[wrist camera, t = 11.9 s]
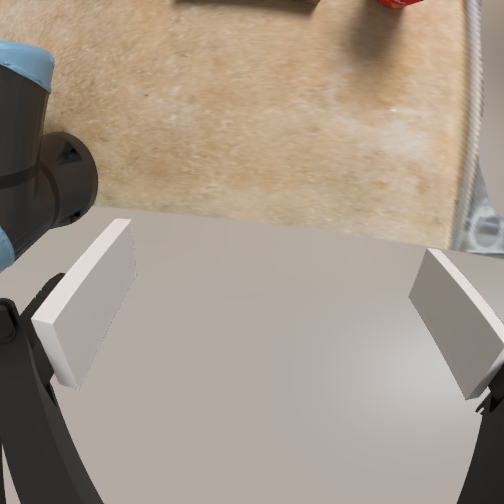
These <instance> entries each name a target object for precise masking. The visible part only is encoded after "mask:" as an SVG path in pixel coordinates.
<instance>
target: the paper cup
mask: <svg viewBox="0 0 504 504" xmlns="http://www.w3.org/2000/svg"><path fill="white" fill-rule="evenodd" d="M378 1H379V2H380V3H381V4H383V5H384V6H386V7H389V8H400V7H404V6H407V5H410V4H414V3H417V2H420V1H423V0H378Z"/></svg>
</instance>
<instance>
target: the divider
mask: <svg viewBox="0 0 504 504" xmlns="http://www.w3.org/2000/svg"><path fill="white" fill-rule="evenodd" d="M295 1H301V2H306V3H311V4H316V5H317V4H318V3H319V2H320V0H295Z"/></svg>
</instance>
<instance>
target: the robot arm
mask: <svg viewBox="0 0 504 504" xmlns="http://www.w3.org/2000/svg"><path fill="white" fill-rule="evenodd" d="M53 69H54V58H53V56H52V55H51V54H50V53H49V52H48V51H46V50H44V49H41V48H38V47H34V46H30V45H26V44H21V43H16V42H9V41H0V273H1V272H2V271H3V270H5V269H6V268H7V267H10V266H11V265H12V264H13V263H14V262H15V261H16V260H17V259H18V258H19V257H20V256H21V255H22V254H23V253H24V252H25V251H26V250H27V249H28V248H29V247H30V246H31V245H33V244H34V243H35V242H36V241H37V240H38V239H39V238H40V237H41V236H42V235H43V234H44V233H46V232H47V231H48V230H49V229H53V228H57V227H62V226H66V225H69V224H72V223H73V222H75V221H77V220H78V219H80V218H81V217H82V216H83V215H84V214H85V213H86V212H87V211H88V210H89V209H90V208H91V206H92V204H93V202H94V200H95V197H96V194H97V188H98V175H97V169H96V165H95V162H94V159H93V157H92V155H91V153H90V152H89V150H88V149H87V147H86V146H85V145H84V144H83V143H82V142H81V141H80V140H79V139H78V138H76V137H75V136H73V135H71V134H68V133H64V132H53V133H50V134H46V135H43V136H42V133H43V126H44V120H45V114H46V108H47V103H48V98H49V94H51V88H50V86H51V80H52V75H53ZM136 276H137V273H136V263H135V253H134V241H133V227H132V220H131V219H115V220H114V221H113V222H112V223H111V224H110V225H109V226H108V227H107V228H106V229H105V230H104V231H103V233H102V234H101V235H100V236H99V237H98V238H97V239H96V240H95V241H94V242H93V243H92V245H91V246H90V247H89V248H88V249H87V250H86V251H85V253H84V254H83V255H82V256H81V257H80V258H79V259H78V261H77V262H76V263H75V264H74V265H73V266H72V267H71V269H70V270H69V271H68V272H67V274H65V273H59V274H57V275H56V276H54V277H53V278H51V279H50V280H49V281H48V282H47V283H46V284H45V285H44V286H43V288H42V290H41V291H39V292H38V294H37V295H36V298H34V299H33V300H32V301H31V302H30V304H29V305H28V306H27V307H26V309H25V310H24V311H23V313H22V314H21V315H20V316H19V313H18V311H17V308H16V306H15V303H14V302H13V301H12V300H10V299H7V298H0V504H6V498H5V490H4V479H3V465H2V445H3V448H4V452H5V456H6V460H7V464H8V467H9V470H10V474H11V477H12V480H13V483H14V486H15V489H16V492H17V494H18V498H19V500H20V503H21V504H104V503H103V501H102V500H101V498H100V496H99V494H98V492H97V491H96V489H95V487H94V485H93V483H92V481H91V479H90V477H89V475H88V473H87V471H86V469H85V467H84V465H83V463H82V461H81V459H80V457H79V454H78V452H77V450H76V448H75V446H74V443H73V441H72V439H71V436H70V434H69V432H68V429H67V426H66V424H65V421H64V419H63V416H62V413H61V410H60V408H59V405H58V402H57V399H56V397H55V393H54V390H53V387H52V385H51V384H50V382H49V381H50V379H51V377H52V376H53V374H54V373H55V375H56V377H57V379H58V381H59V383H60V384H62V385H65V386H68V387H72V388H75V389H80V388H81V385H82V383H83V381H84V379H85V377H86V375H87V372H88V370H89V368H90V366H91V364H92V362H93V360H94V357H95V355H96V353H97V351H98V349H99V347H100V345H101V342H102V341H103V339H104V337H105V335H106V333H107V331H108V329H109V327H110V325H111V323H112V321H113V319H114V317H115V315H116V313H117V311H118V309H119V307H120V306H121V304H122V302H123V300H124V298H125V296H126V294H127V292H128V291H129V289H130V287H131V285H132V283H133V281H134V280H135V278H136ZM409 298H410V300H411V301H412V303H413V305H414V306H415V308H416V310H417V311H418V313H419V315H420V316H421V318H422V319H423V321H424V323H425V325H426V326H427V328H428V330H429V332H430V333H431V335H432V337H433V339H434V340H435V342H436V344H437V346H438V348H439V349H440V351H441V353H442V355H443V357H444V359H445V360H446V362H447V364H448V366H449V368H450V370H451V372H452V374H453V376H454V377H455V379H456V381H457V383H458V385H459V387H460V389H461V391H462V393H463V395H464V397H465V400H468V399H472V398H477V397H479V396H480V395H481V394H482V393H483V391H484V390H485V389H486V388H487V386H488V387H489V389H490V391H491V392H490V393H489V394H488V396H487V397H486V398H485V399H484V401H483V402H482V403H481V404H480V405H479V406H478V408H477V409H476V412H478V411H479V410H480V409H481V408H484V410H483V411H482V412H481V413H480V414H481V415H483V416H482V422H481V425H480V430H479V434H478V438H477V442H476V446H475V450H474V454H473V457H472V461H471V464H470V467H469V471H468V473H467V476H466V479H465V482H464V485H463V488H462V491H461V494H460V496H459V499H458V502H457V504H504V324H503V323H502V322H501V321H500V319H499V318H498V317H497V315H496V314H495V313H494V312H493V310H492V309H491V308H490V307H489V306H488V304H487V303H486V302H485V301H484V300H483V298H482V297H481V296H480V295H479V293H478V292H477V291H476V290H475V289H474V288H473V286H472V285H471V284H470V283H469V282H468V281H467V279H466V278H465V277H464V276H463V275H462V274H461V273H460V272H459V271H458V269H457V268H456V267H455V266H454V265H453V264H452V263H451V262H450V261H449V260H448V259H447V257H445V255H444V254H443V253H442V252H441V251H440V250H438V249H430V248H427V249H426V253H425V255H424V258H423V261H422V264H421V266H420V269H419V272H418V274H417V277H416V280H415V282H414V284H413V287H412V290H411V292H410V294H409Z"/></svg>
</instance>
